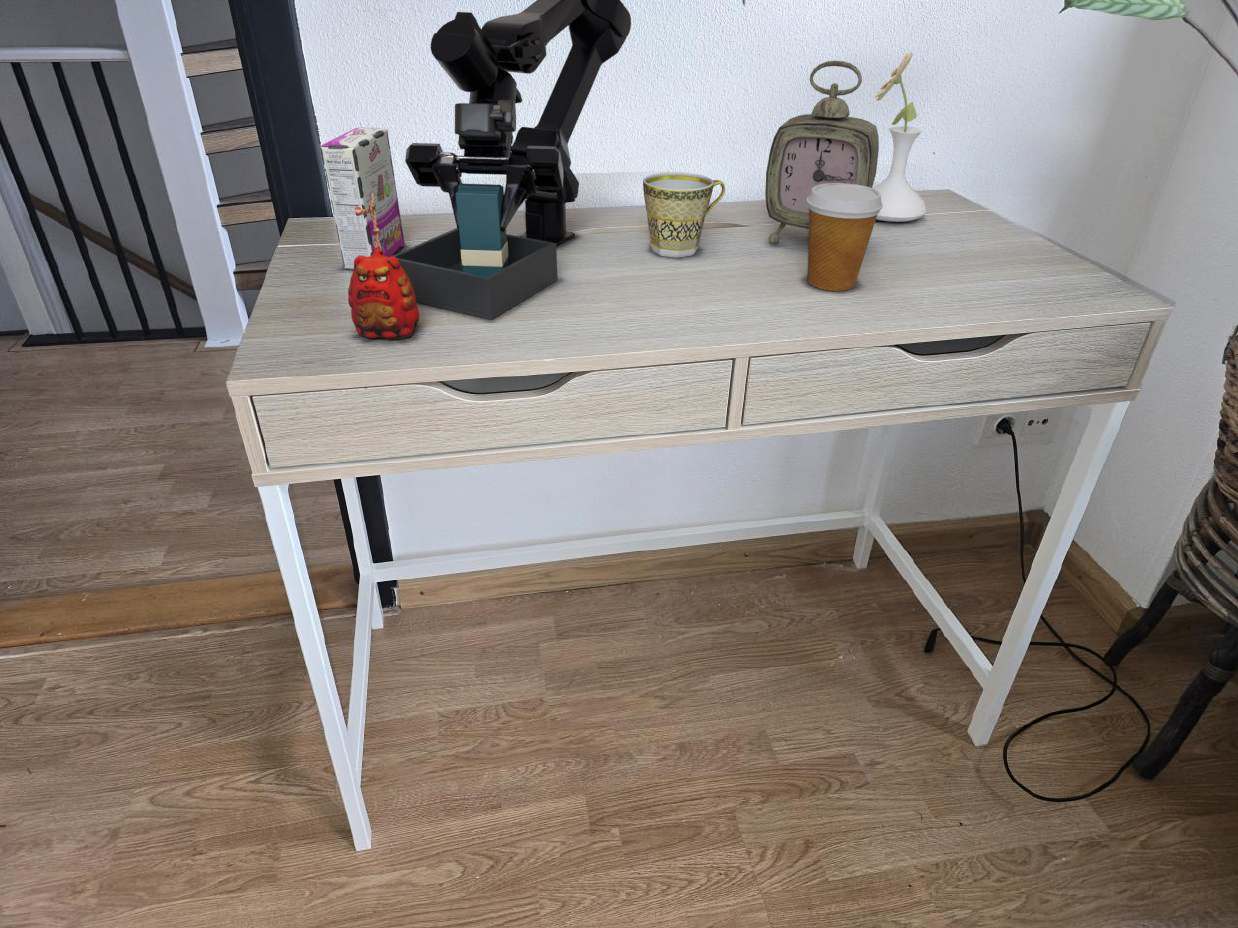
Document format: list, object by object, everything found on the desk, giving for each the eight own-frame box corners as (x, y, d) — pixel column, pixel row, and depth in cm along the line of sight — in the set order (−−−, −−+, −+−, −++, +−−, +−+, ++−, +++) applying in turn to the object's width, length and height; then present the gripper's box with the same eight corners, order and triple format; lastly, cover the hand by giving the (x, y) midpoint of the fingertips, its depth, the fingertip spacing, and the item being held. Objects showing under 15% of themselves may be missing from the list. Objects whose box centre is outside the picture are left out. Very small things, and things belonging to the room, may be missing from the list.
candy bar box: (373, 244, 120) (355, 126, 111) (405, 246, 120) (389, 128, 111) (340, 270, 111) (317, 143, 102) (375, 272, 110) (355, 145, 101)
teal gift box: (470, 271, 105) (462, 180, 99) (509, 272, 105) (503, 181, 99) (463, 282, 102) (454, 189, 96) (503, 284, 102) (497, 190, 95)
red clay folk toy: (347, 343, 91) (322, 208, 83) (363, 318, 97) (341, 190, 89) (415, 344, 91) (396, 209, 83) (427, 319, 97) (411, 191, 89)
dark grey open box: (465, 261, 114) (461, 225, 112) (557, 280, 109) (556, 243, 106) (392, 297, 103) (387, 257, 100) (491, 320, 97) (488, 279, 94)
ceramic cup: (662, 265, 114) (665, 193, 108) (628, 245, 121) (630, 176, 116) (739, 252, 119) (745, 182, 114) (702, 233, 126) (707, 167, 121)
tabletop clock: (758, 246, 122) (778, 61, 108) (771, 229, 129) (792, 54, 115) (856, 259, 117) (890, 68, 104) (864, 241, 124) (897, 60, 111)
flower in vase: (877, 204, 142) (907, 44, 128) (937, 218, 135) (975, 51, 121) (834, 218, 134) (860, 49, 121) (895, 234, 127) (930, 57, 114)
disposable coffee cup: (870, 275, 112) (887, 186, 105) (864, 300, 104) (882, 205, 98) (800, 267, 114) (813, 179, 108) (790, 290, 107) (802, 197, 100)
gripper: (398, 70, 95) (383, 192, 91) (557, 74, 94) (548, 197, 91) (424, 128, 105) (412, 239, 102) (567, 132, 105) (559, 244, 101)
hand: (480, 229), depth 99 cm, fingers closed on teal gift box, 5 cm apart
